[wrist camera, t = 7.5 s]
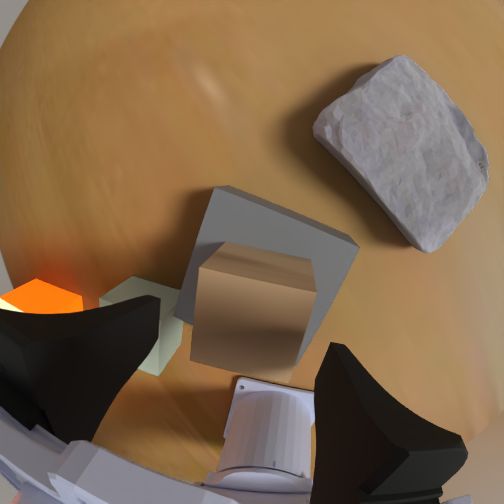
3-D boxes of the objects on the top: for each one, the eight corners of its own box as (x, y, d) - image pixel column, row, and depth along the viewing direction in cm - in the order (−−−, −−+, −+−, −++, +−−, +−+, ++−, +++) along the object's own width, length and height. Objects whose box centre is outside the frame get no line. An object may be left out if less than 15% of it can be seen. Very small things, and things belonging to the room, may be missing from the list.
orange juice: (82, 296, 24) (-74, 408, 5) (92, 365, 27) (-17, 481, 7) (34, 277, 25) (-101, 354, 6) (46, 342, 27) (-59, 430, 8)
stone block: (376, 62, 17) (295, 138, 18) (402, 34, 13) (310, 116, 13) (468, 171, 19) (407, 257, 19) (506, 166, 14) (444, 269, 15)
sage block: (181, 342, 24) (158, 376, 19) (131, 325, 24) (102, 353, 19) (187, 291, 22) (160, 320, 18) (133, 275, 23) (99, 298, 18)
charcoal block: (296, 336, 22) (296, 366, 18) (192, 294, 23) (172, 316, 19) (347, 234, 20) (359, 247, 16) (229, 185, 20) (214, 187, 16)
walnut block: (291, 333, 18) (288, 383, 13) (214, 316, 18) (189, 360, 13) (310, 259, 16) (316, 292, 12) (226, 241, 17) (199, 267, 12)
